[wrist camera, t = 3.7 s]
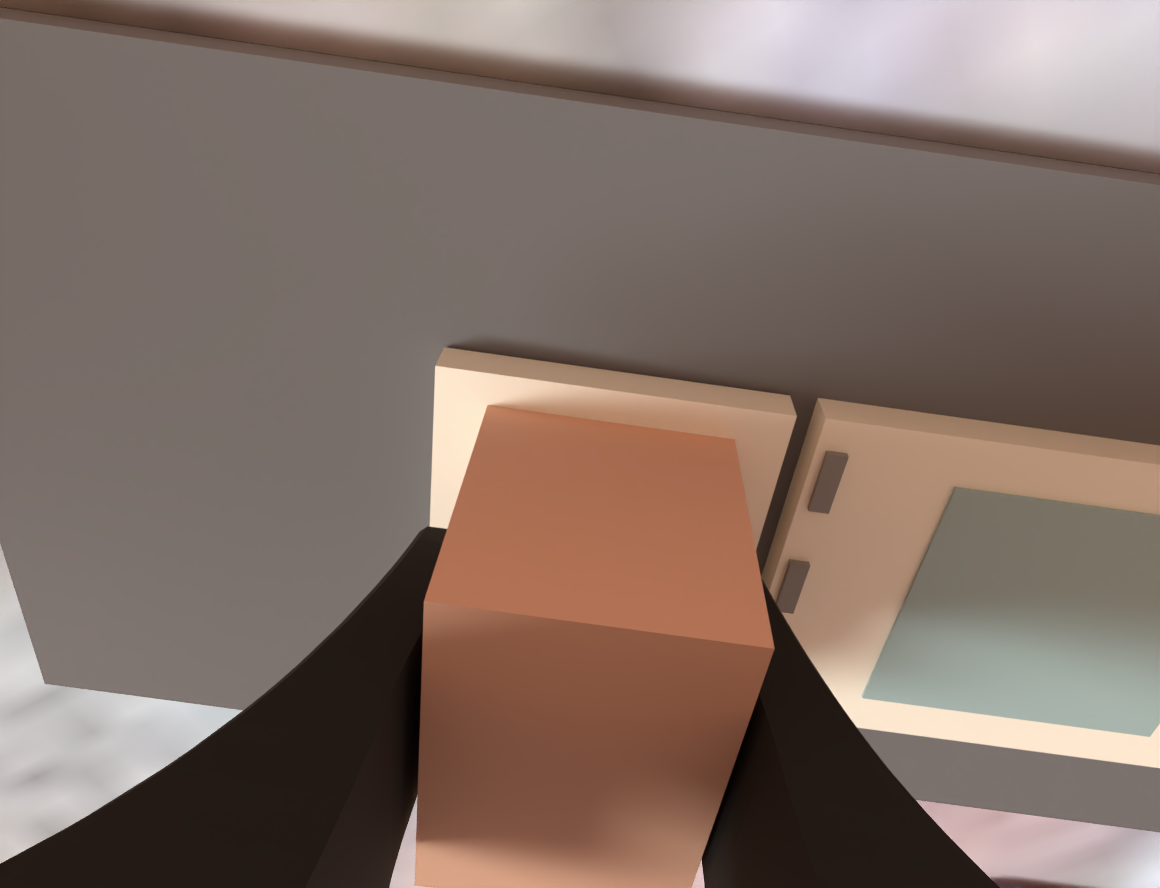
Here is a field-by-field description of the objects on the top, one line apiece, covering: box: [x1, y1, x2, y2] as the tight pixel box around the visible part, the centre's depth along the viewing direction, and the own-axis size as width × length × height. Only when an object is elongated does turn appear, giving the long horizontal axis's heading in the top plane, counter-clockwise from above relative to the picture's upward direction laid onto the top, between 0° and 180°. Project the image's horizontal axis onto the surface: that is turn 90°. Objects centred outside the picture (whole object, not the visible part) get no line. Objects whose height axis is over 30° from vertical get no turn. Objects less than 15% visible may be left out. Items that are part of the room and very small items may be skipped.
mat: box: [0, 7, 1160, 832], centre depth 14 cm, size 23×12×1 cm, turn 83°
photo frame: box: [761, 398, 1160, 768], centre depth 13 cm, size 8×6×1 cm
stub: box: [415, 347, 797, 888], centre depth 11 cm, size 5×6×5 cm
